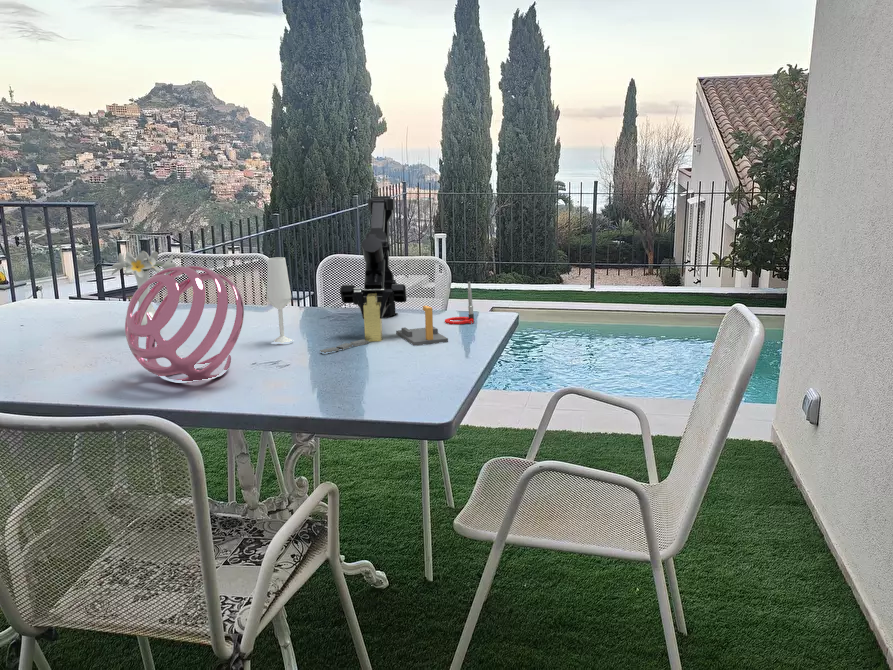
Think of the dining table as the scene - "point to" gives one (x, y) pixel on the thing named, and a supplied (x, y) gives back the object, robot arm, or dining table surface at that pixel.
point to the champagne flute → (278, 290)
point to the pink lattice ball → (165, 314)
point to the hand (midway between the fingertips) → (372, 318)
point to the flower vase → (142, 272)
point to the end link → (372, 319)
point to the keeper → (423, 331)
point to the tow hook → (470, 308)
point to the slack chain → (346, 346)
